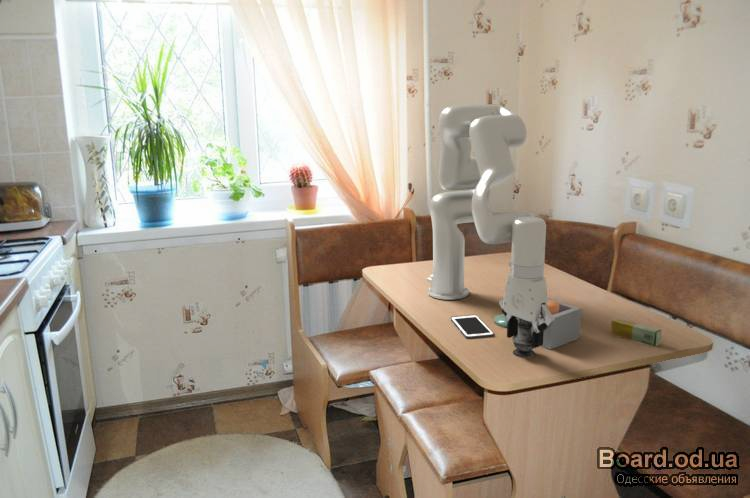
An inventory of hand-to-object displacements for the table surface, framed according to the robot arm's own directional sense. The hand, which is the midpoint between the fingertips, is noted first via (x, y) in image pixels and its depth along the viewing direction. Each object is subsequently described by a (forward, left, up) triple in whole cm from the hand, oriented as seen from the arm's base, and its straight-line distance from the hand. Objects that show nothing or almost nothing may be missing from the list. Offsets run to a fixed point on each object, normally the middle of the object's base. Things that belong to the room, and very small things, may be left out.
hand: (524, 340), depth 150 cm
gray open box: (-3, +12, -3) cm, 13 cm away
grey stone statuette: (0, 0, -3) cm, 3 cm away
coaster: (-16, +12, -3) cm, 20 cm away
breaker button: (-3, +12, +1) cm, 12 cm away
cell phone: (-20, +2, -4) cm, 20 cm away
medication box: (+11, +28, -4) cm, 31 cm away
